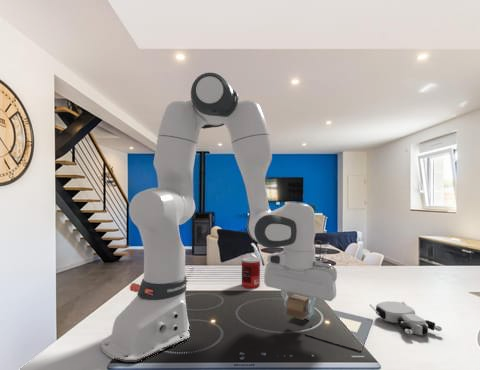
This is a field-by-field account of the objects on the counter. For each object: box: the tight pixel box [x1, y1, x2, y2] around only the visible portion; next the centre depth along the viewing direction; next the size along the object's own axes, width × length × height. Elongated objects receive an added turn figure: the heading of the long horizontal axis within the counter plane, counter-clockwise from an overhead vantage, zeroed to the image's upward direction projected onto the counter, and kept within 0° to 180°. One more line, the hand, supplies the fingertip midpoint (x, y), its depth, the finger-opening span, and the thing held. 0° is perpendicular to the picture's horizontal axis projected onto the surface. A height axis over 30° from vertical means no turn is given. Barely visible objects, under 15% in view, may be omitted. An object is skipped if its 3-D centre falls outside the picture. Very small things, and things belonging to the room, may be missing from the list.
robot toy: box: [369, 301, 443, 336], centre depth 77 cm, size 12×4×15 cm
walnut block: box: [286, 293, 309, 320], centre depth 74 cm, size 4×4×4 cm
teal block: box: [306, 300, 315, 318], centre depth 82 cm, size 4×4×4 cm
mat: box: [332, 309, 374, 346], centre depth 75 cm, size 20×14×1 cm
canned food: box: [241, 256, 261, 290], centre depth 111 cm, size 8×8×11 cm
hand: (297, 308), depth 74 cm, fingers closed on walnut block, 5 cm apart
